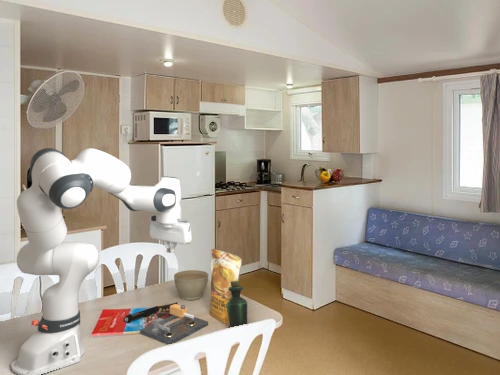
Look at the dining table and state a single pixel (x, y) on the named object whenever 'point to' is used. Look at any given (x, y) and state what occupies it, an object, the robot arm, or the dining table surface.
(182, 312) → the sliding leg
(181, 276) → the planter bowl
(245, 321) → the potion bottle
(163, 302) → the dining table surface
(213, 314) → the pancake mix bag
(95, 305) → the dining table surface
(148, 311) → the electric trimmer
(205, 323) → the bolt plate
